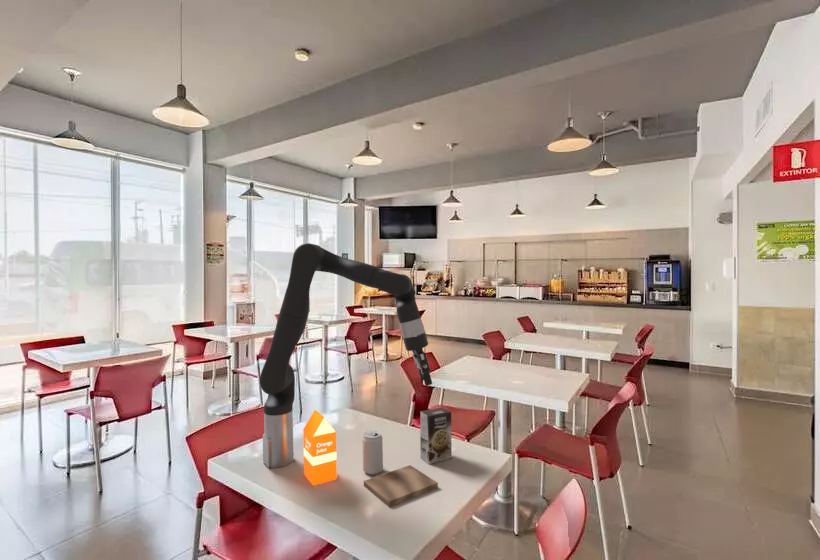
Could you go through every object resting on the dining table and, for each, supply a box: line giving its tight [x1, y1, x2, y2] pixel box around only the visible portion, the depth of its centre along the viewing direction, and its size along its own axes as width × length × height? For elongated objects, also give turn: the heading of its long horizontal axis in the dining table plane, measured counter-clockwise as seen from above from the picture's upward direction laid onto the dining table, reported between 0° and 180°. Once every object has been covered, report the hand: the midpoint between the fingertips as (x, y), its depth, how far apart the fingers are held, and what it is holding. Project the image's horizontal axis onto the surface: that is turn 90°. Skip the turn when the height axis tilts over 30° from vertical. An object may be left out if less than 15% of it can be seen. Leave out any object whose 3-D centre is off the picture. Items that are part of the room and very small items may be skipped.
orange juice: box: [302, 409, 338, 486], centre depth 130 cm, size 8×9×20 cm
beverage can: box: [361, 430, 384, 476], centre depth 133 cm, size 6×6×12 cm
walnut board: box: [363, 464, 439, 508], centre depth 123 cm, size 17×14×2 cm
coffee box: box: [419, 407, 453, 465], centre depth 142 cm, size 9×6×16 cm
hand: (426, 382), depth 135 cm, fingers open, 8 cm apart
